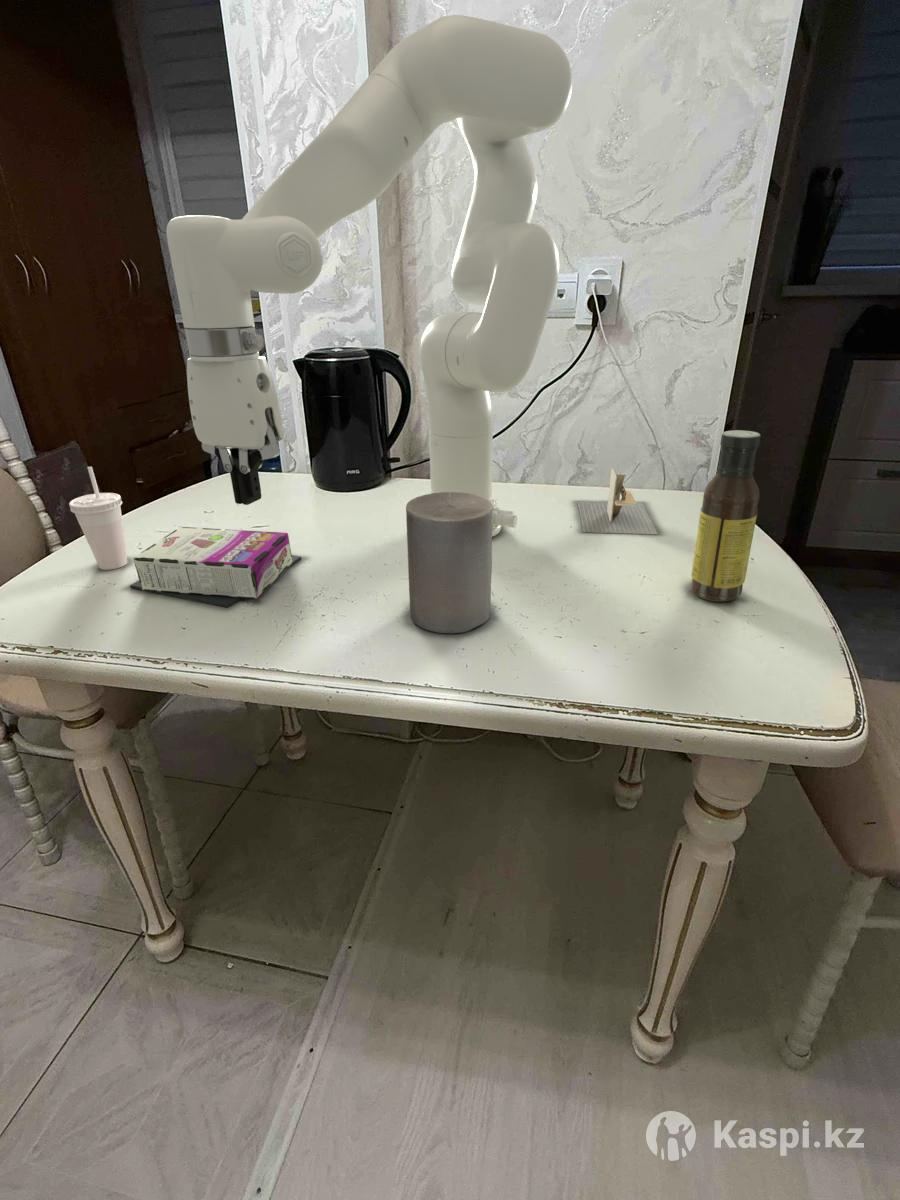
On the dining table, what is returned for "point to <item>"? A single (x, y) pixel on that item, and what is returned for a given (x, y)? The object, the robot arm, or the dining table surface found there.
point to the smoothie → (102, 525)
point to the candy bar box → (214, 562)
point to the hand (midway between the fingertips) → (248, 500)
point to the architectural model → (616, 512)
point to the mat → (210, 599)
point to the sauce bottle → (727, 520)
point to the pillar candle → (449, 560)
